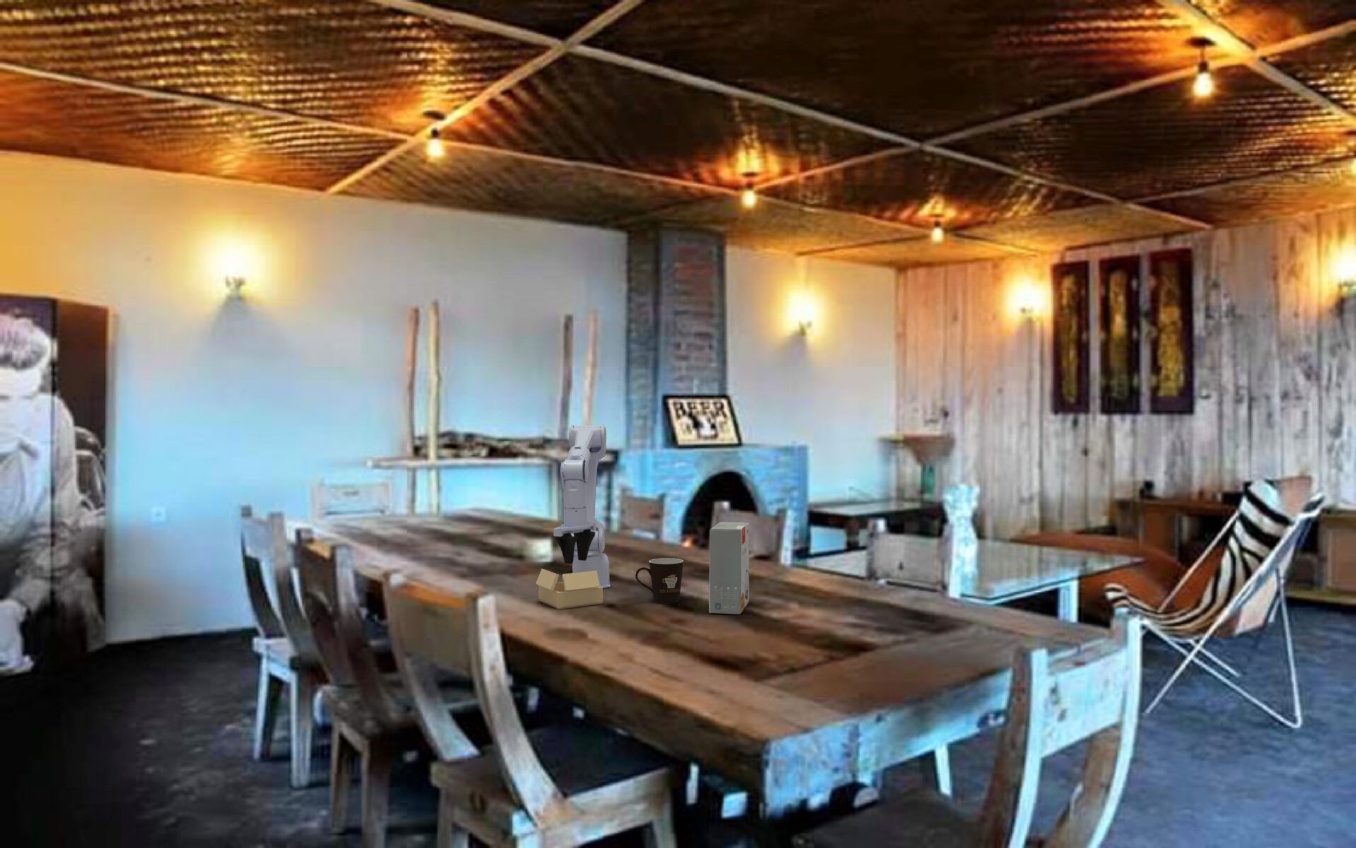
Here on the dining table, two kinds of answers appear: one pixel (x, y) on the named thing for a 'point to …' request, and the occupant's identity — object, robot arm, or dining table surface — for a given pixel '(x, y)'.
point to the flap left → (580, 580)
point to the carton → (570, 596)
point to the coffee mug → (664, 579)
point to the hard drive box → (729, 568)
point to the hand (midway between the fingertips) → (575, 562)
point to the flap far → (547, 579)
